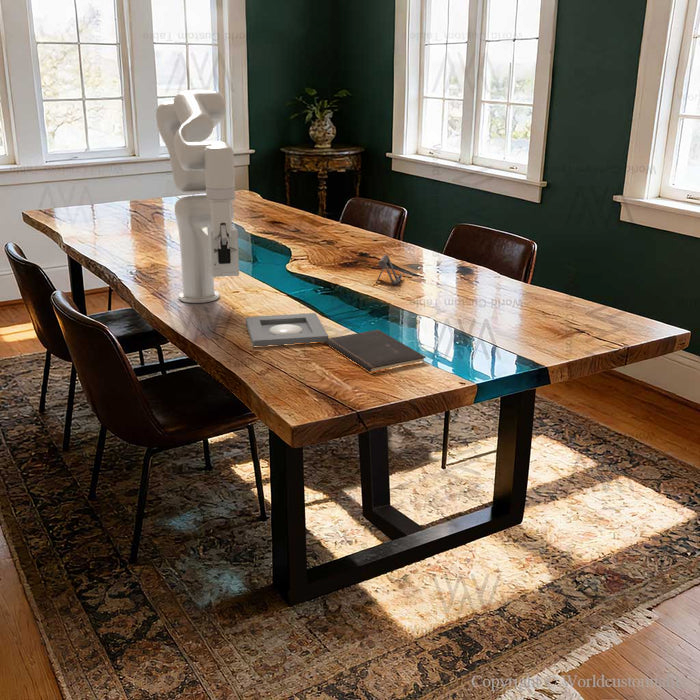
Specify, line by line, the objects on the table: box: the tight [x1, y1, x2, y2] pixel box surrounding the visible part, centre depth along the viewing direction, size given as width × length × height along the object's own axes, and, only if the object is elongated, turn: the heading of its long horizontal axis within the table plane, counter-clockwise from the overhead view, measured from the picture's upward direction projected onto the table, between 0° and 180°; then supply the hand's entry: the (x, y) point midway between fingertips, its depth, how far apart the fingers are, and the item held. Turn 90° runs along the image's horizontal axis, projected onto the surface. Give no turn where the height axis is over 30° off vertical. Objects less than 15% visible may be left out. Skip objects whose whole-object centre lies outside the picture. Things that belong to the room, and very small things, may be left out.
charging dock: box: [245, 312, 329, 348], centre depth 217 cm, size 20×20×2 cm
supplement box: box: [206, 224, 240, 278], centre depth 213 cm, size 7×7×13 cm
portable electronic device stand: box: [375, 254, 403, 287], centre depth 266 cm, size 9×8×8 cm
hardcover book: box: [325, 329, 426, 372], centre depth 203 cm, size 16×23×2 cm
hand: (223, 259), depth 214 cm, fingers closed on supplement box, 7 cm apart
